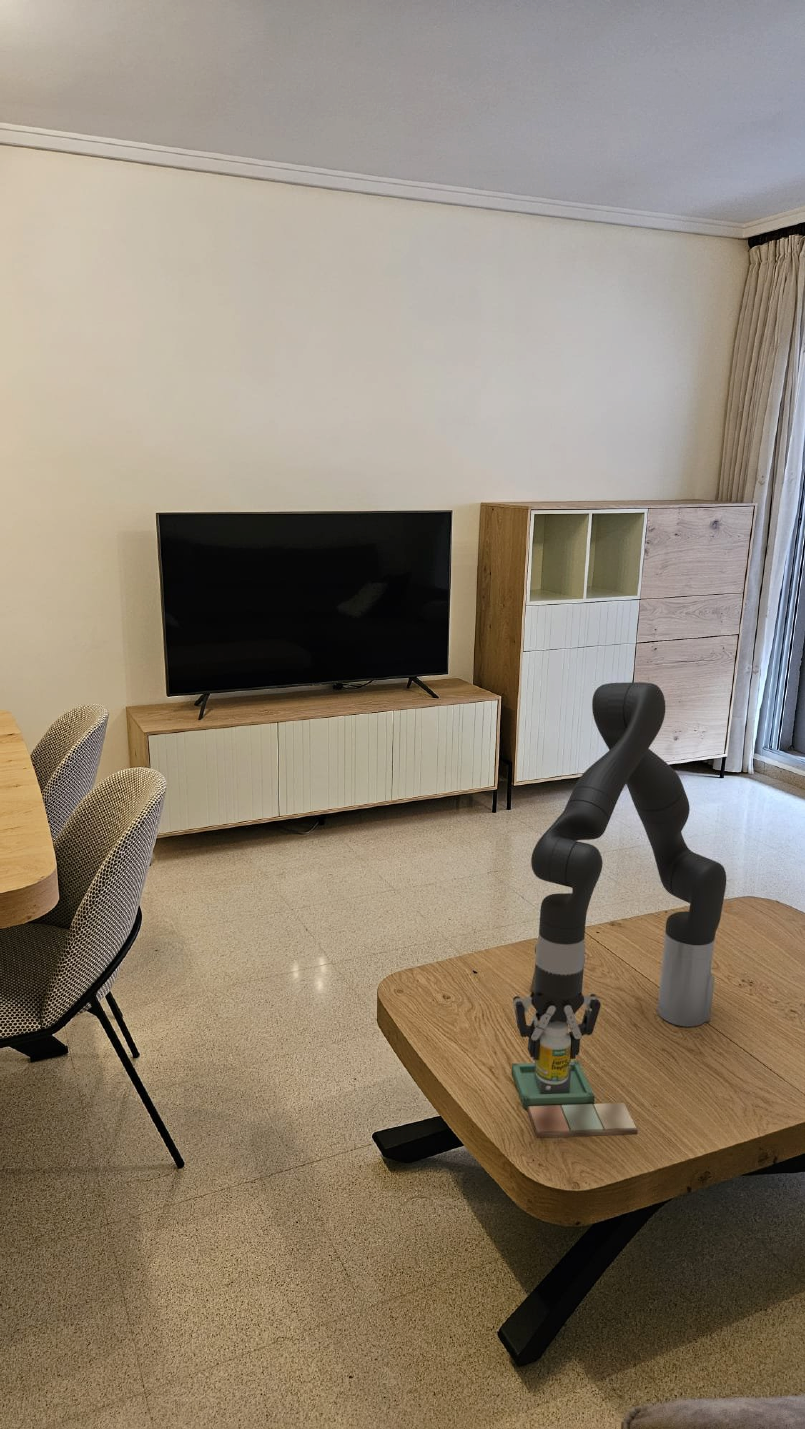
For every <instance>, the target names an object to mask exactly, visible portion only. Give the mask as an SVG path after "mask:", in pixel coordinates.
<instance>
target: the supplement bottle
mask: <svg viewBox="0 0 805 1429" xmlns="http://www.w3.org/2000/svg"><path fill="white" fill-rule="evenodd" d="M539 1040H540V1045H539V1059H538V1060H536V1076H537V1077H538V1078H539V1079H540V1080H541V1081H543V1082H545V1083H547V1084H561V1083H564V1082H565V1081H566V1080H567V1079H568V1075H569V1064H570V1062H571V1059H570V1051H571V1037H570V1035H569V1024H568V1021H567V1022H560V1021H555V1022H548V1024H547V1026H546V1028H545V1029H544V1030H542V1032H541V1034H540V1036H539Z"/></svg>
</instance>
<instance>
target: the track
mask: <svg viewBox="0 0 805 1429" xmlns="http://www.w3.org/2000/svg"><path fill="white" fill-rule="evenodd" d="M526 1109H527V1113H528V1117H529V1118H530V1122H531V1125H532V1127H533V1130H534V1134H535V1137H536V1138H537V1139H538V1138H543V1139H544V1138H563V1137H564V1138H565V1137H586V1136H588V1137H589V1136H610V1135H611V1136H613V1135H614V1136H615V1135H637V1134H638V1131H639V1130H638V1128H637V1126H636V1124H635V1122H634V1120H633V1117H632V1116H631V1114H630V1113H629V1110H628V1107H627V1106H626V1104H625V1102H611V1103H610V1102H609V1103H594V1104H578V1105H561V1106H560V1105H552V1106H529V1107H527V1108H526Z"/></svg>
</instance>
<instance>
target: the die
mask: <svg viewBox="0 0 805 1429" xmlns="http://www.w3.org/2000/svg"><path fill="white" fill-rule="evenodd" d="M534 1061H535V1062H534V1063H535V1073H534V1078H535V1081H536V1084H537V1087H538V1090H539V1093H540V1094H566V1093H569V1091H570V1078H571V1066H570V1064H569V1075H568V1079H567V1080H566V1081H565V1082H564V1083H561V1084H547V1083H545V1082H543V1081H541V1080H540V1079H539V1078H538V1077H537V1076H536V1060H534Z"/></svg>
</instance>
